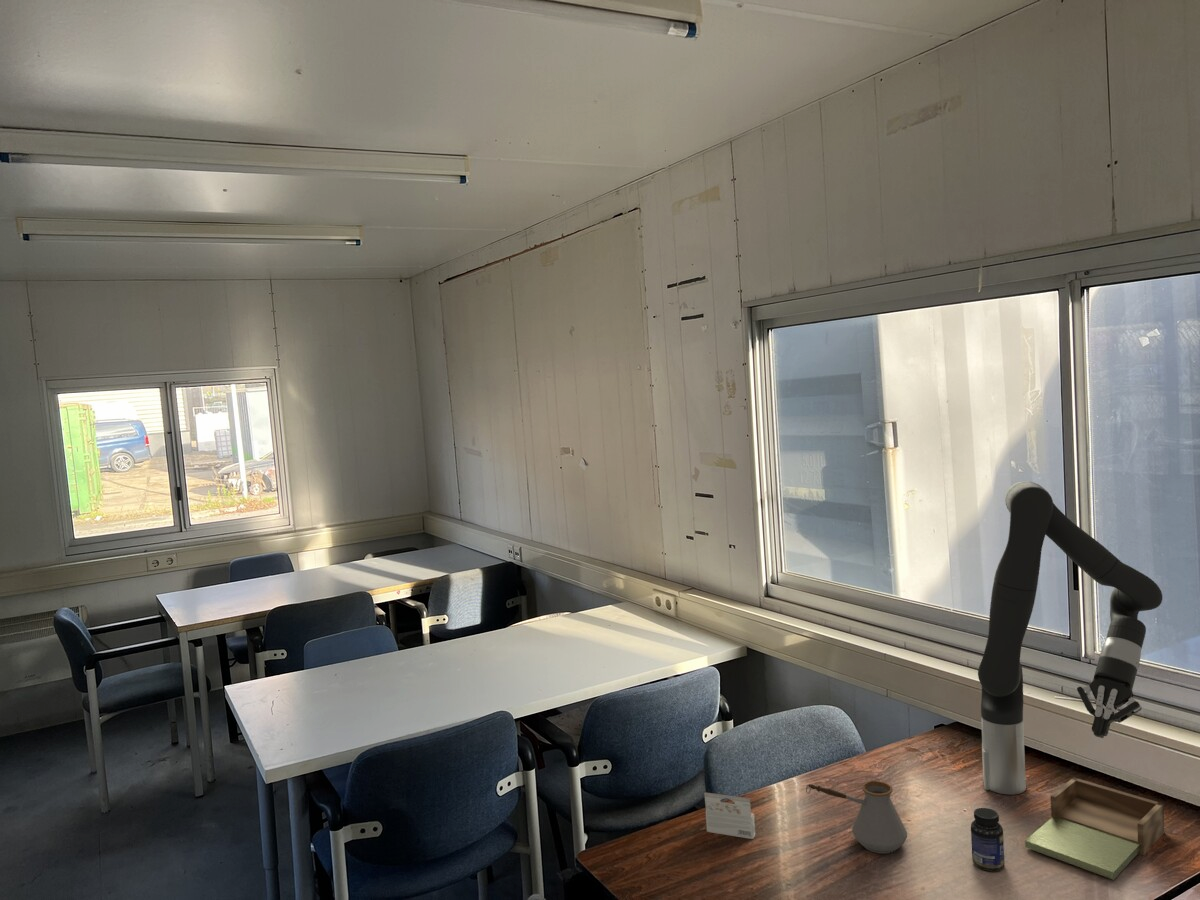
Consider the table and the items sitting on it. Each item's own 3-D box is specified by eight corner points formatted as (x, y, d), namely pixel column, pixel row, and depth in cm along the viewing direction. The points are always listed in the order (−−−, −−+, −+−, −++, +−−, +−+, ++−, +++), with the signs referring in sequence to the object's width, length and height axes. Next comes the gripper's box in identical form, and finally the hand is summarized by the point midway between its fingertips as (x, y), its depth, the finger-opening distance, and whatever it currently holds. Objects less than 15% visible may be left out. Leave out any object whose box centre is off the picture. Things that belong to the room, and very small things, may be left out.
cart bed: (1074, 804, 197) (1073, 777, 196) (1164, 832, 182) (1163, 803, 182) (1051, 824, 189) (1050, 796, 189) (1143, 855, 175) (1142, 825, 174)
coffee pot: (895, 828, 192) (892, 764, 191) (916, 855, 181) (913, 788, 180) (802, 836, 192) (798, 772, 190) (817, 865, 180) (813, 797, 179)
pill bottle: (1008, 873, 172) (1006, 821, 171) (976, 872, 174) (973, 820, 173) (1000, 856, 178) (998, 806, 177) (969, 855, 180) (967, 805, 179)
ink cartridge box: (709, 827, 199) (706, 787, 198) (756, 834, 194) (753, 793, 193) (706, 832, 197) (703, 792, 196) (753, 840, 192) (750, 798, 191)
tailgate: (1054, 815, 188) (1025, 840, 180) (1140, 844, 175) (1113, 872, 166) (1054, 822, 188) (1025, 847, 180) (1140, 851, 175) (1113, 879, 167)
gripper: (1081, 648, 192) (1060, 721, 187) (1148, 664, 182) (1128, 741, 177) (1090, 660, 197) (1070, 731, 192) (1156, 676, 187) (1136, 751, 182)
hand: (1098, 736), depth 185 cm, fingers closed
